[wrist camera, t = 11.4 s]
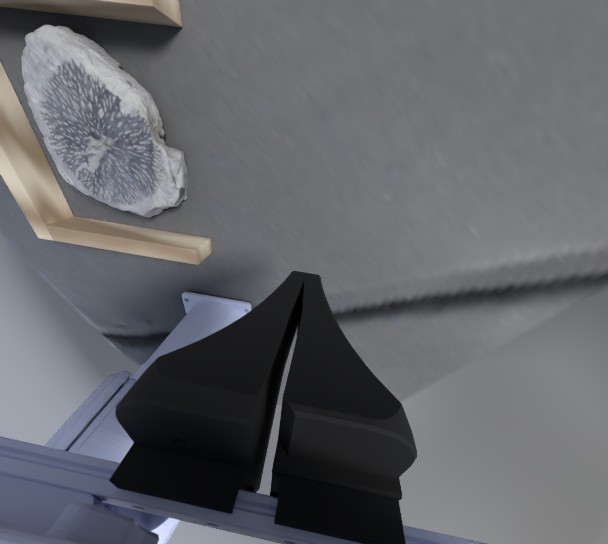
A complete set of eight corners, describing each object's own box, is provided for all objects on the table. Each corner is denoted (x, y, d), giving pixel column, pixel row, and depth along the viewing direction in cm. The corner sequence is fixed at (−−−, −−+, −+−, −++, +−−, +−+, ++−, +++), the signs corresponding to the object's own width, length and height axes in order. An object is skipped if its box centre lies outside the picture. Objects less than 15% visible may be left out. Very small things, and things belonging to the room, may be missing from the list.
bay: (212, 252, 21) (198, 264, 19) (66, 228, 22) (38, 237, 20) (177, -11, 12) (144, -41, 10) (-67, -37, 13) (-145, -70, 11)
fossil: (200, 182, 15) (100, 248, 17) (220, 183, 19) (137, 237, 21) (66, -17, 12) (-44, 93, 13) (124, 33, 16) (32, 114, 17)
